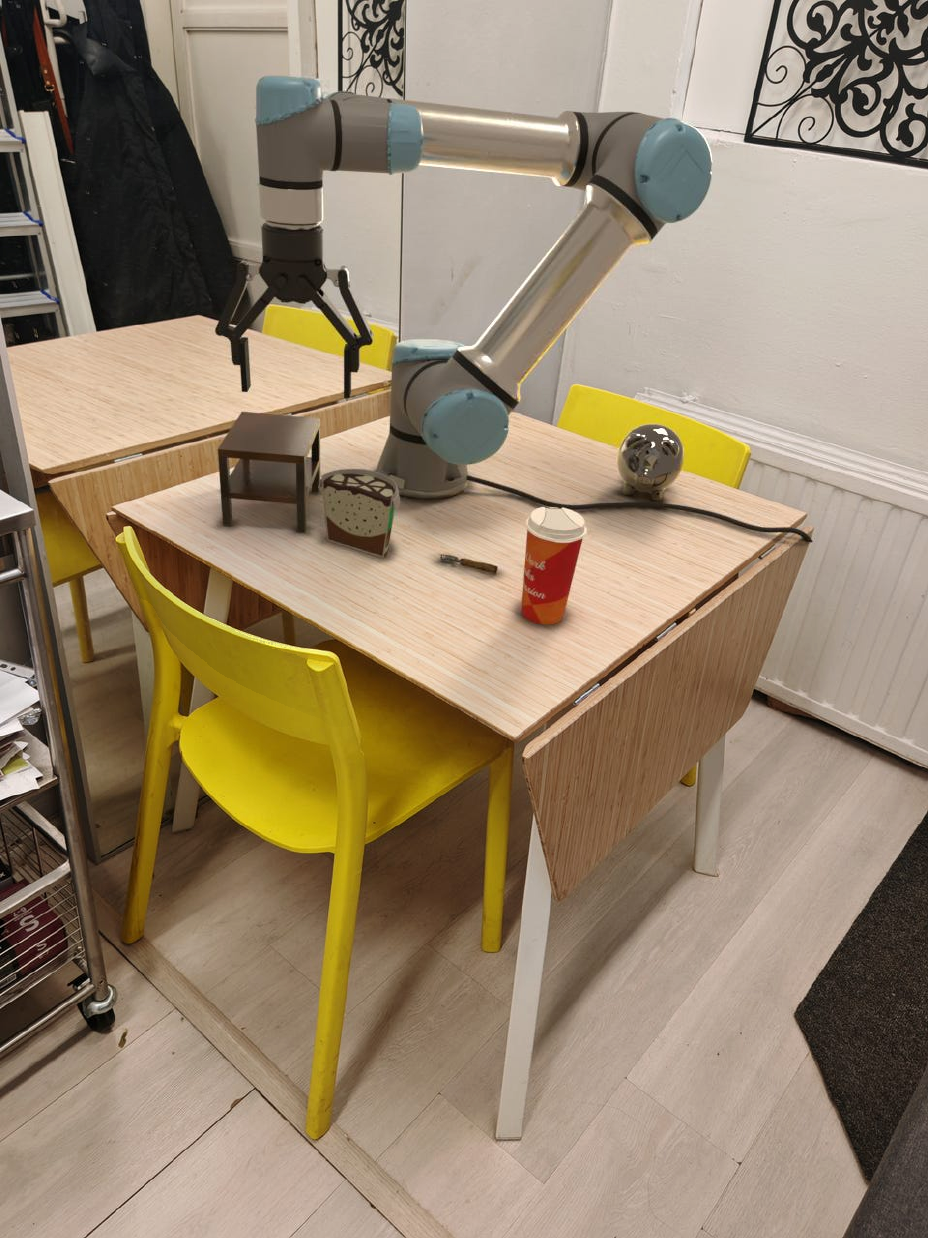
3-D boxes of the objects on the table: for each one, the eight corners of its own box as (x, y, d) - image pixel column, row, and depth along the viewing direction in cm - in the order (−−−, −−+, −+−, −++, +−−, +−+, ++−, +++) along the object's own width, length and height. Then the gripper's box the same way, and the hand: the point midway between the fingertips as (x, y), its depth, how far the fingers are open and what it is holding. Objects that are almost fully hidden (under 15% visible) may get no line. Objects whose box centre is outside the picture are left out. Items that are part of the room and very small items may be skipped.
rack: (320, 489, 144) (320, 418, 138) (305, 532, 132) (304, 456, 125) (245, 483, 144) (241, 411, 137) (222, 526, 131) (217, 448, 125)
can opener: (498, 571, 126) (498, 564, 126) (491, 578, 125) (492, 571, 124) (440, 554, 129) (441, 547, 129) (433, 561, 127) (434, 554, 127)
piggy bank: (604, 502, 149) (616, 437, 143) (617, 469, 162) (629, 408, 155) (671, 516, 147) (686, 450, 141) (679, 481, 159) (693, 419, 153)
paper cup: (509, 596, 121) (522, 502, 114) (565, 598, 122) (581, 505, 115) (517, 629, 115) (531, 531, 107) (576, 630, 116) (594, 534, 108)
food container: (412, 543, 131) (416, 481, 126) (392, 561, 127) (395, 496, 121) (340, 522, 135) (341, 460, 130) (318, 538, 130) (318, 474, 125)
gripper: (395, 225, 114) (390, 388, 126) (195, 210, 112) (209, 376, 124) (393, 236, 108) (388, 406, 119) (181, 221, 106) (197, 395, 118)
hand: (297, 392), depth 122 cm, fingers open, 13 cm apart
